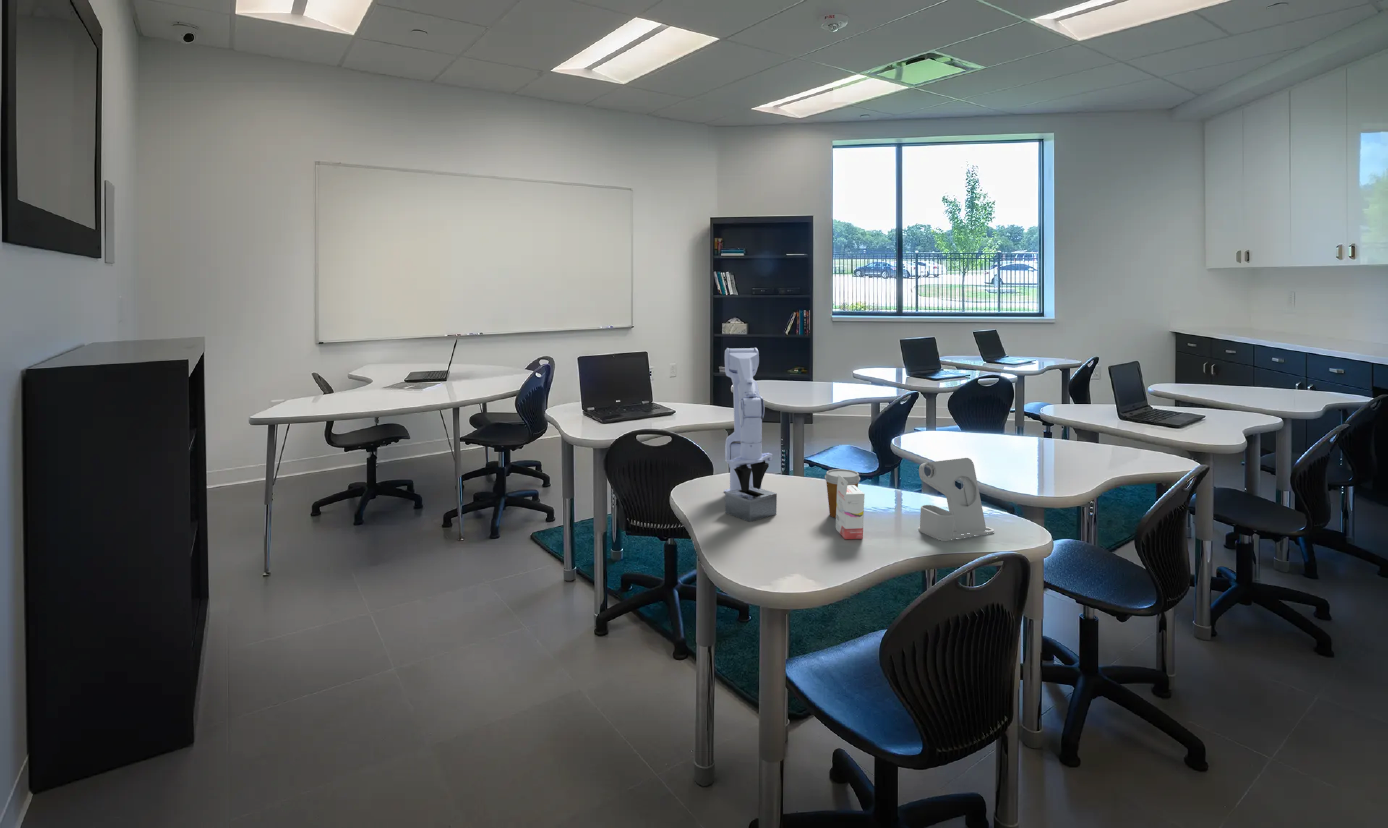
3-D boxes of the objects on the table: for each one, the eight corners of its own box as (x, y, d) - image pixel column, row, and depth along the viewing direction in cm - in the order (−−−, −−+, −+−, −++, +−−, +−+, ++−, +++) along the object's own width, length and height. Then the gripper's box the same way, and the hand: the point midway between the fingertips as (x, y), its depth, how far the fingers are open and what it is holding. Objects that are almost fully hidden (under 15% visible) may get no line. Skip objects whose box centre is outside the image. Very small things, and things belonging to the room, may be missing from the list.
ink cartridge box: (864, 539, 177) (866, 482, 174) (844, 540, 177) (846, 482, 174) (853, 528, 185) (855, 473, 183) (834, 528, 185) (836, 473, 182)
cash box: (751, 506, 205) (751, 485, 204) (776, 514, 197) (776, 493, 196) (725, 512, 198) (725, 492, 197) (749, 521, 191) (749, 500, 190)
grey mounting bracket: (940, 542, 175) (944, 471, 172) (914, 529, 184) (917, 461, 181) (996, 533, 181) (1001, 464, 178) (967, 521, 190) (971, 455, 187)
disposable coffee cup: (860, 512, 198) (862, 470, 196) (856, 522, 190) (858, 478, 187) (826, 508, 201) (827, 467, 199) (821, 519, 193) (822, 476, 191)
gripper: (741, 447, 187) (741, 497, 189) (780, 440, 195) (779, 487, 198) (723, 443, 192) (723, 491, 194) (762, 436, 201) (762, 482, 203)
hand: (750, 489), depth 196 cm, fingers open, 4 cm apart
